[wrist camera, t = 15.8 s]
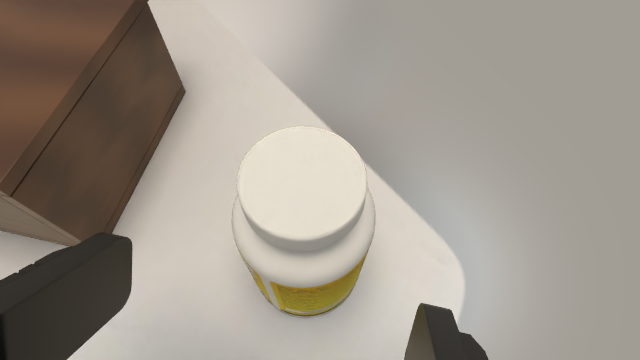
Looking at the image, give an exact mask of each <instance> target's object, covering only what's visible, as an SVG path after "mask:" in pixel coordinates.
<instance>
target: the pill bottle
mask: <svg viewBox="0 0 640 360" xmlns="http://www.w3.org/2000/svg"><path fill="white" fill-rule="evenodd" d="M232 230H233V235H234V239H235V242H236V245H237V247H238V250H239V252H240V254H241V256H242V258H243V260H244V261H245V263H246V265H247V267H248V269H249V270H250V272H251V274H252V276H253V278H254V280H255V281H256V283H257V285H258V287H259V288H260V290H261V292H262V293H263V295H264V296H265V297H266V299H267V300H268V301H269V302H270V303H271V304H272V305H273V306H274V307H276V308H277V309H278V310H280V311H282V312H284V313H286V314H289V315H292V316H296V317H302V318H309V317H317V316H320V315H324V314H326V313H328V312H330V311H332V310H334V309H335V308H337V307H338V306H339V305H341V304H342V303H343V302H344V301H345V299H346V298H347V297H348V296H349V294H350V293H351V291H352V290H353V288H354V285H355V283H356V281H357V278H358V276H359V273H360V271H361V268H362V265H363V263H364V260H365V257H366V255H367V252H368V250H369V247H370V245H371V242H372V239H373V235H374V230H375V207H374V202H373V199H372V196H371V193H370V191H369V189H368V187H367V173H366V169H365V166H364V163H363V161H362V159H361V157H360V156H359V154H358V153H357V151H356V150H355V149H354V148H353V147H352V146H351V145H350V144H349V143H348V142H347V141H346V140H344V139H343V138H341V137H340V136H338V135H336V134H334V133H332V132H330V131H327V130H324V129H321V128H316V127H309V126H296V127H288V128H284V129H281V130H278V131H275V132H273V133H271V134H269V135H267V136H266V137H264V138H262V139H261V140H260V141H258V142H257V143H256V144H255V145H254V146H253V147H252V148H251V149H250V150H249V151H248V153H247V154H246V155H245V157H244V159H243V161H242V163H241V165H240V168H239V171H238V176H237V196H236V198H235V202H234V205H233V211H232Z"/></svg>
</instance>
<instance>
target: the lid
mask: <svg viewBox="0 0 640 360" xmlns="http://www.w3.org/2000/svg"><path fill="white" fill-rule="evenodd" d="M148 1H149V0H0V195H5V196H11V194H12V193H13V191H14V190H15V189H16V187H17V186H18V184H19V183H20V181H21V180H22V179H23V177H24V176H25V174H26V173H27V172H28V170H29V169H30V167H31V166H32V165H33V163H34V162H35V160H36V159H37V157H38V156H39V155H40V153H41V152H42V150H43V149H44V148H45V146H46V145H47V143H48V142H49V140H50V139H51V138H52V136H53V135H54V133H55V132H56V131H57V129H58V128H59V126H60V125H61V124H62V122H63V121H64V119H65V118H66V116H67V115H68V114H69V112H70V111H71V109H72V108H73V107H74V105H75V104H76V102H77V101H78V99H79V98H80V97H81V95H82V94H83V92H84V91H85V90H86V88H87V87H88V85H89V84H90V83H91V81H92V80H93V78H94V77H95V75H96V74H97V73H98V71H99V70H100V68H101V67H102V66H103V64H104V63H105V61H106V60H107V59H108V57H109V56H110V54H111V53H112V51H113V50H114V49H115V47H116V46H117V44H118V43H119V42H120V40H121V39H122V37H123V36H124V34H125V33H126V32H127V30H128V29H129V27H130V26H131V25H132V23H133V22H134V20H135V19H136V18H137V16H138V15H139V13H140V12H141V10H142V9H143V8H144V6H145V5H146V3H147V2H148Z"/></svg>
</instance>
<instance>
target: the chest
mask: <svg viewBox="0 0 640 360" xmlns="http://www.w3.org/2000/svg"><path fill="white" fill-rule="evenodd" d="M184 93H185V89H184V87H183V85H182V82H181V80H180V77H179V75H178V73H177V70H176V68H175V66H174V63H173V61H172V59H171V56H170V54H169V52H168V49H167V47H166V45H165V42H164V40H163V38H162V35H161V33H160V31H159V28H158V26H157V24H156V21H155V19H154V17H153V14H152V12H151V10H150V7H149V5H148V3H146V5H145V6H144V8H143V9H142V10H141V12H140V13H139V15H138V16H137V18H136V19H135V20H134V22H133V23H132V25H131V26H130V27H129V29H128V30H127V32H126V33H125V34H124V36H123V37H122V39H121V40H120V42H119V43H118V44H117V46H116V47H115V49H114V50H113V51H112V53H111V54H110V56H109V57H108V59H107V60H106V61H105V63H104V64H103V66H102V67H101V68H100V70H99V71H98V73H97V74H96V75H95V77H94V78H93V80H92V81H91V83H90V84H89V85H88V87H87V88H86V90H85V91H84V92H83V94H82V95H81V97H80V98H79V99H78V101H77V102H76V104H75V105H74V107H73V108H72V109H71V111H70V112H69V114H68V115H67V116H66V118H65V119H64V121H63V122H62V124H61V125H60V126H59V128H58V129H57V131H56V132H55V133H54V135H53V136H52V138H51V139H50V140H49V142H48V143H47V145H46V146H45V148H44V149H43V150H42V152H41V153H40V155H39V156H38V157H37V159H36V160H35V162H34V163H33V165H32V166H31V167H30V169H29V170H28V172H27V173H26V174H25V176H24V177H23V179H22V180H21V181H20V183H19V184H18V186H17V187H16V189H15V190H14V191H13V193H12V194H11V196H5V195H0V230H1V231H5V232H10V233H14V234H18V235H23V236H27V237H31V238H36V239H40V240H45V241H49V242H53V243H58V244H62V245H67V246H74V245H77V244H79V243H80V242H82V241H84V240H86V239H88V238H89V237H91V236H93V235H95V234H97V233H99V232H105V233H110V234H111V233H112V231H113V229H114V227H115V225H116V223H117V221H118V219H119V217H120V215H121V213H122V212H123V210H124V208H125V206H126V204H127V202H128V200H129V198H130V196H131V194H132V192H133V191H134V189H135V187H136V185H137V183H138V181H139V179H140V177H141V175H142V173H143V171H144V170H145V168H146V166H147V164H148V162H149V160H150V158H151V156H152V154H153V152H154V150H155V149H156V147H157V145H158V143H159V141H160V139H161V137H162V135H163V133H164V131H165V129H166V128H167V126H168V124H169V122H170V120H171V118H172V116H173V114H174V112H175V110H176V108H177V107H178V105H179V103H180V101H181V99H182V97H183V95H184Z"/></svg>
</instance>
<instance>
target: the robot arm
mask: <svg viewBox="0 0 640 360" xmlns="http://www.w3.org/2000/svg"><path fill="white" fill-rule="evenodd" d="M131 285H132V242H131V240H130V239H129V238H127V237H123V236H119V235H114V234H110V233H105V232H99V233H97V234H95V235H93V236H91V237H89V238H88V239H86V240H84V241H82V242H80V243H79V244H77V245H74V246H71V247H68V248H65V249H61V250H58V251H55V252H52V253H50V254H49V255H47V256H45V257H43V258H41V259H39V260H38V261H36V262H35V263H34V264H30V265H28V266H26V267H25V268H23V269H21V270H19V272H18V273H13V274H12V275H10V276H8V277H6V278H4V279H2V280H0V360H67V359H68V358H69V357H70V356H71V355H72V354H73V353H74V352H75V351H76V350H78V349H79V348H80V347H81V346H82V345H83V344H84V343H85V342H86V341H87V340H89V339H90V338H91V337H92V336H93V335H94V334H95V333H96V332H97V331H98V330H99V329H101V328H102V327H103V326H104V325H105V324H106V323H107V322H108V321H109V320H110V319H111V318H113V317H114V316H115V315H116V314H117V313H118V312H119V311H120V310H121V309H122V308H123V307H124V305H125V304H126V302H127V300H128V298H129V295H130V292H131ZM404 360H488V358H487V355H486V353H485V351H484V350H483V349H482V347H481V346H480V345H479V344H478V343H477V342H476V341H475V339H474V338H473V337H472V336H471V335H470V334H466V333H461V332H459V330H458V327H457V325H456V322H455V319H454V316H453V313H452V311H451V310H450V309H446V308H442V307H437V306H433V305H428V304H424V303H421V304H420V305H419V307H418V309H417V312H416V316H415V320H414V323H413V327H412V330H411V334H410V338H409V341H408V345H407V348H406V352H405V357H404Z"/></svg>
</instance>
